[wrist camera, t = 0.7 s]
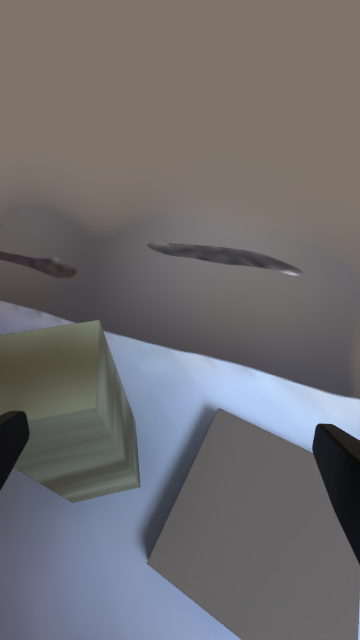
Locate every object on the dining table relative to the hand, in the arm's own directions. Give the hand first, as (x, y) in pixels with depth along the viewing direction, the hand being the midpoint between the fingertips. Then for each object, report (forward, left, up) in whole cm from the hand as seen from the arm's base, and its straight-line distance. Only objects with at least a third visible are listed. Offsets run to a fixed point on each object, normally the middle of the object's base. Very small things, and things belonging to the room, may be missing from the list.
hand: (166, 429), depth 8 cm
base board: (+2, -5, -15) cm, 16 cm away
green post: (0, +7, -15) cm, 16 cm away
